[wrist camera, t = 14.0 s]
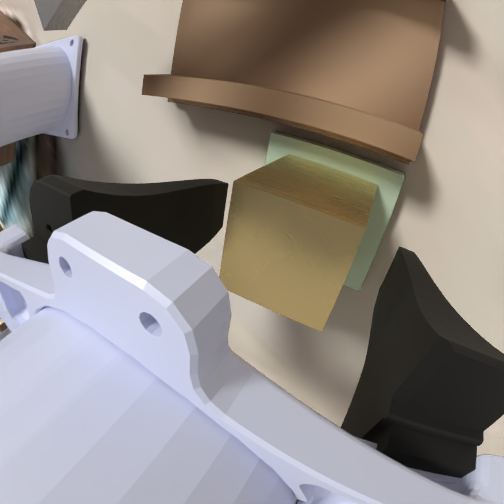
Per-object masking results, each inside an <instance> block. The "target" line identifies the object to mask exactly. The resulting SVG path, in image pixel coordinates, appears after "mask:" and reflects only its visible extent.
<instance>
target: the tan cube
mask: <svg viewBox="0 0 504 504" xmlns="http://www.w3.org/2000/svg"><path fill="white" fill-rule="evenodd" d="M377 185H378V184H375V183H373V182H370V181H367V180H365V179H362V178H359V177H357V176H354V175H351V174H349V173H346V172H343V171H340V170H337V169H334V168H331V167H329V166H326V165H323V164H320V163H317V162H314V161H311V160H307V159H304V158H301V157H298V156H295V155H292V154H288V155H286V156H284V157H281V158H279V159H277V160H275V161H273V162H271V163H269V164H267V165H265V166H263V167H261V168H259V169H257V170H255V171H253V172H251V173H249V174H247V175H245V176H243V177H241V178H239V179H237V180H235V181H234V182H233V188H232V195H231V201H230V208H229V214H228V221H227V228H226V234H225V241H224V248H223V255H222V262H221V269H220V276H219V278H220V280H221V281H222V283H223V284H224V286H225V288H226V289H227V290H228V291H230V292H232V293H235V294H237V295H239V296H241V297H243V298H245V299H248V300H250V301H252V302H254V303H256V304H259V305H261V306H263V307H265V308H267V309H270V310H272V311H274V312H276V313H279V314H281V315H283V316H285V317H288V318H290V319H292V320H295V321H297V322H299V323H301V324H304V325H306V326H308V327H311V328H313V329H315V330H318V331H320V332H322V330H323V328H324V326H325V324H326V322H327V319H328V317H329V315H330V313H331V311H332V309H333V306H334V304H335V302H336V300H337V297H338V295H339V293H340V291H341V288H342V286H343V284H344V281H345V279H346V277H347V274H348V272H349V269H350V267H351V265H352V262H353V260H354V257H355V255H356V252H357V250H358V247H359V245H360V242H361V240H362V237H363V235H364V232H365V229H366V226H367V222H368V219H369V215H370V212H371V208H372V204H373V201H374V197H375V193H376V189H377Z"/></svg>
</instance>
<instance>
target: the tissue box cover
mask: <svg viewBox="0 0 504 504" xmlns="http://www.w3.org/2000/svg"><path fill="white" fill-rule="evenodd" d="M35 44H36V43H35V42H34V41H33V40H32V39H31V38H30V37H29V36H28V35H27V34H25V33H24V32H23V31H22V30H21V29H20V28H19V27H18V26H17V25H15V24H14V23H13V22H12V21H11V20H10V19H9V18H8V17H7V16H5V15H4V14H3V13H2V12H1V11H0V53H2V52H8V51H14V50H21V49H29V48H34V47H35ZM14 151H15V142H13V143H10V144H7V145H4V146H1V147H0V166H3V165H5V164H8V163H10V162H13V161H14Z"/></svg>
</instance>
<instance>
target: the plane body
mask: <svg viewBox="0 0 504 504" xmlns="http://www.w3.org/2000/svg"><path fill="white" fill-rule="evenodd" d="M445 1H446V0H183V3H182V8H181V14H180V19H179V25H178V30H177V36H176V43H175V49H174V56H173V63H172V70H171V74H157V75H144V78H143V88H142V95H150V96H160V97H168V102H175V103H182V104H189V105H195V106H201V107H207V108H213V109H218V110H223V111H228V112H233V113H238V114H243V115H248V116H252V117H257V118H261V119H265V120H270V121H274V122H278V123H282V124H286V125H290V126H293V127H297V128H301V129H304V130H308V131H312V132H315V133H318V134H322V135H325V136H328V137H332V138H335V139H338V140H341V141H344V142H348V143H351V144H354V145H357V146H360V147H362V148H365V149H368V150H371V151H374V152H377V153H379V154H382V155H385V156H387V157H390V158H393V159H395V160H398V161H401V162H403V163H406V164H408V165H409V162H410V160H412V161H415V160H416V157H417V154H418V151H419V148H420V144H421V141H422V138H423V134H422V133H421V132H420V131H419V129H420V125H421V121H422V118H423V114H424V110H425V106H426V102H427V98H428V94H429V90H430V86H431V81H432V77H433V72H434V68H435V63H436V58H437V52H438V47H439V41H440V36H441V29H442V23H443V16H444V8H445Z"/></svg>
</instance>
